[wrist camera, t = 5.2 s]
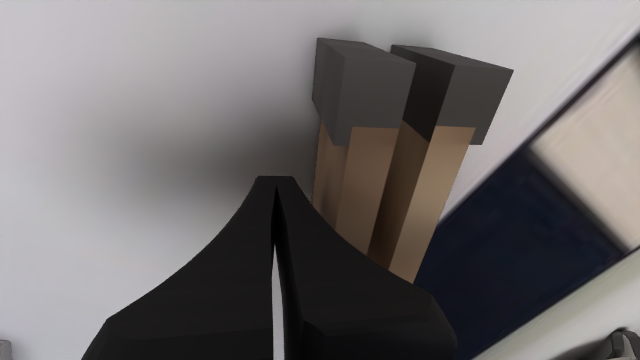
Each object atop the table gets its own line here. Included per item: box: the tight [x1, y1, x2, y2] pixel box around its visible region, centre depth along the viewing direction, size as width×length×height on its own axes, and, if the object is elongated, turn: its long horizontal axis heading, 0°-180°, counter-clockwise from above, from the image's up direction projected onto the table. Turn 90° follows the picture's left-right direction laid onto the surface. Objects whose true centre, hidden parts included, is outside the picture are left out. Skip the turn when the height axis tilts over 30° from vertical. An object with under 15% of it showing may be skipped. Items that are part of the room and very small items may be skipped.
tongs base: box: [366, 45, 514, 284], centre depth 12 cm, size 17×4×5 cm, turn 174°
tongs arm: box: [312, 38, 416, 255], centre depth 11 cm, size 17×3×6 cm, turn 174°
